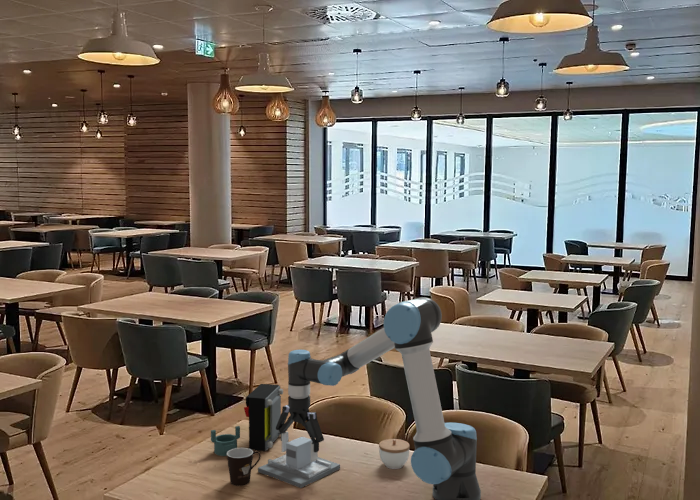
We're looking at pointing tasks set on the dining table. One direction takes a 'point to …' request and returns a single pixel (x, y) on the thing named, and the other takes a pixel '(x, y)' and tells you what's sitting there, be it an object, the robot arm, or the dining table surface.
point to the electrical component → (263, 416)
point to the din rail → (304, 471)
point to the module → (298, 452)
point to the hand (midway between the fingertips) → (299, 455)
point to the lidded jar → (394, 453)
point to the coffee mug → (240, 465)
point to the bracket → (225, 441)
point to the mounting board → (294, 478)
